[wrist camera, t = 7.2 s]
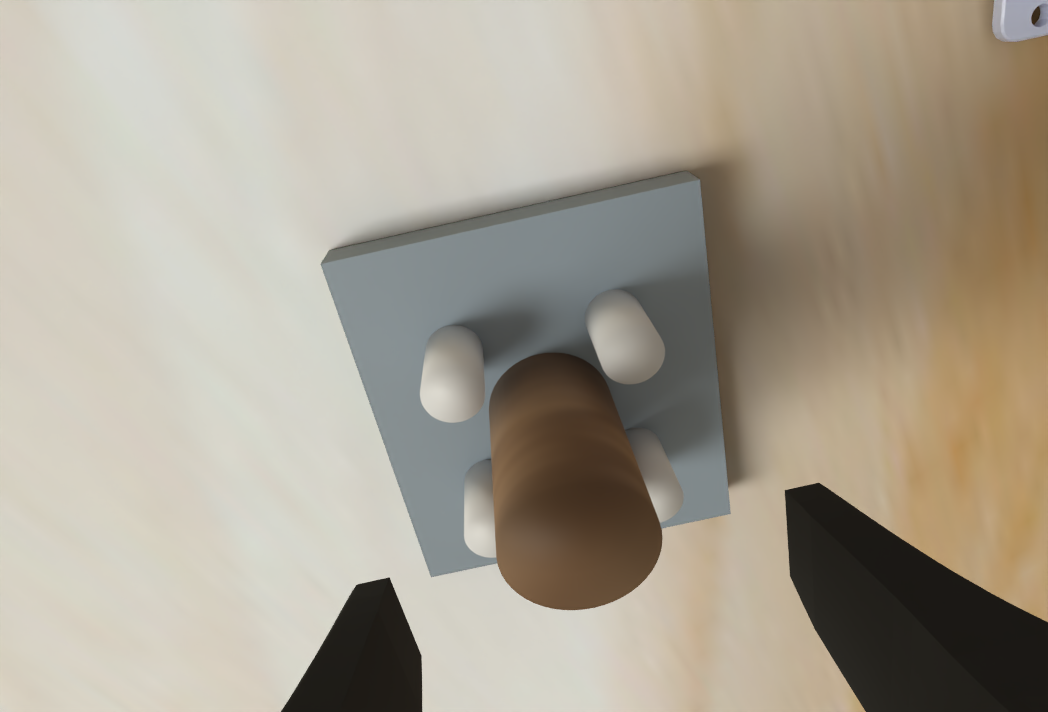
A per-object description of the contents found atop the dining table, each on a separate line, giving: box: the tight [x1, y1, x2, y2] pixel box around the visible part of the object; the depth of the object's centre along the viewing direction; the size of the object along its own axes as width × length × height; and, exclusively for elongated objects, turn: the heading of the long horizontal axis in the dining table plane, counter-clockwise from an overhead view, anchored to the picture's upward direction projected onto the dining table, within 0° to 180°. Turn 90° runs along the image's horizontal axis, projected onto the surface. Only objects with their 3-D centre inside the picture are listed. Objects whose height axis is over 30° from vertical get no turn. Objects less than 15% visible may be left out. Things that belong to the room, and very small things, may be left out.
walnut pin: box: [489, 353, 662, 610], centre depth 18 cm, size 4×4×6 cm
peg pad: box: [321, 171, 731, 577], centre depth 20 cm, size 10×11×4 cm
